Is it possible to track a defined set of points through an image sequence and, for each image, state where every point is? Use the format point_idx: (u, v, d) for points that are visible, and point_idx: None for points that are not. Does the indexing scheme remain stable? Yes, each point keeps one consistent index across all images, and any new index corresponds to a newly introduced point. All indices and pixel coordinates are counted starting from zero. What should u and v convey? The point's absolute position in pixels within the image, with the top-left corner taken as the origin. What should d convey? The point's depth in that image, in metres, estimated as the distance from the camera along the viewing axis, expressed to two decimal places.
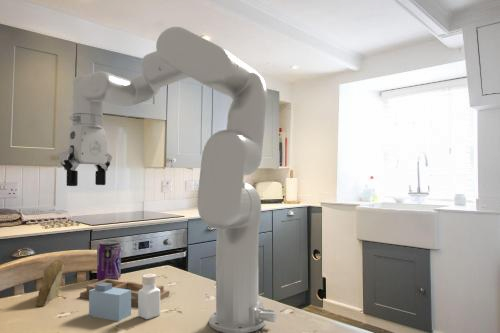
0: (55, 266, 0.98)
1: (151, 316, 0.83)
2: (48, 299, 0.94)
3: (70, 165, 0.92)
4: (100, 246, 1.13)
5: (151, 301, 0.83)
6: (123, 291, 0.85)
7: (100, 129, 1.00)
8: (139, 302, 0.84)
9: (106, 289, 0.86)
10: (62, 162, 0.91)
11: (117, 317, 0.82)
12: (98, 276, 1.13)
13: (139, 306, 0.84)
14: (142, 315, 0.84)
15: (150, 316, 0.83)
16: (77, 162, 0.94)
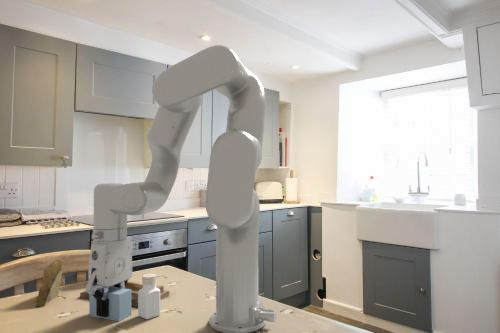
0: (55, 266, 0.98)
1: (151, 316, 0.83)
2: (48, 299, 0.94)
3: (100, 297, 0.82)
4: None
5: (151, 301, 0.83)
6: (124, 291, 0.85)
7: (125, 241, 0.87)
8: (139, 302, 0.84)
9: None
10: (93, 294, 0.81)
11: (118, 317, 0.82)
12: None
13: (139, 306, 0.84)
14: (142, 315, 0.84)
15: (150, 316, 0.83)
16: (105, 289, 0.83)
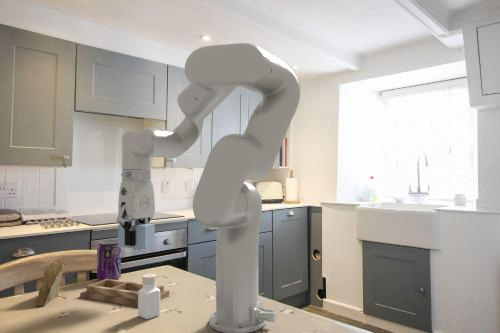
0: (55, 266, 0.98)
1: (151, 316, 0.83)
2: (48, 299, 0.94)
3: (128, 227, 0.94)
4: (100, 246, 1.13)
5: (151, 301, 0.83)
6: (148, 224, 0.97)
7: (148, 182, 1.00)
8: (139, 302, 0.84)
9: None
10: (122, 225, 0.94)
11: (144, 246, 0.95)
12: (98, 276, 1.13)
13: (139, 306, 0.84)
14: (142, 315, 0.84)
15: (150, 316, 0.83)
16: (133, 221, 0.95)
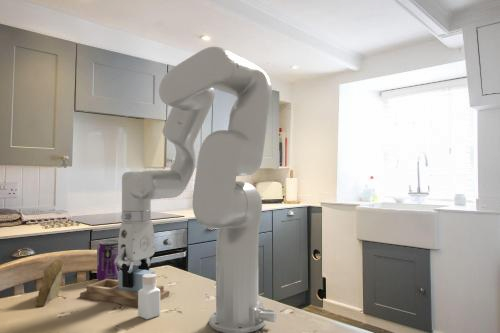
0: (55, 266, 0.98)
1: (151, 316, 0.83)
2: (48, 299, 0.94)
3: (126, 269, 0.93)
4: (100, 246, 1.13)
5: (151, 301, 0.83)
6: (148, 272, 0.97)
7: (148, 222, 0.99)
8: (139, 302, 0.84)
9: (133, 270, 0.97)
10: (120, 267, 0.93)
11: None
12: (98, 276, 1.13)
13: (139, 306, 0.84)
14: (142, 315, 0.84)
15: (150, 316, 0.83)
16: (131, 263, 0.94)
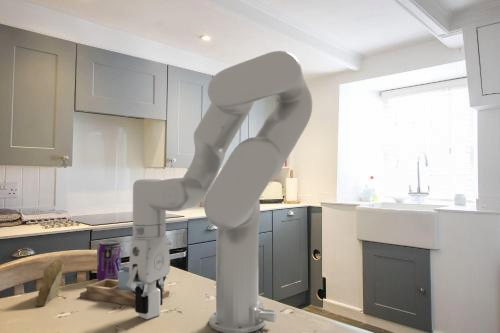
0: (55, 266, 0.98)
1: (151, 316, 0.83)
2: (48, 299, 0.94)
3: (140, 293, 0.81)
4: (100, 246, 1.13)
5: (151, 301, 0.84)
6: None
7: (163, 237, 0.87)
8: None
9: None
10: (133, 290, 0.81)
11: None
12: (98, 276, 1.13)
13: None
14: (142, 315, 0.84)
15: (150, 315, 0.83)
16: (145, 285, 0.82)
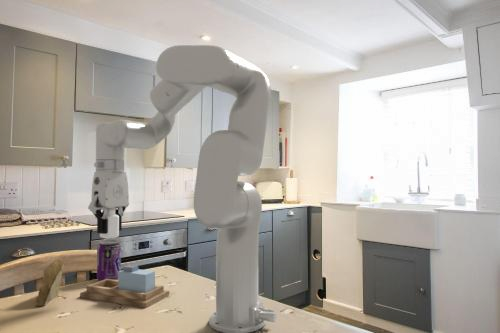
0: (55, 266, 0.98)
1: (110, 236, 1.00)
2: (48, 299, 0.94)
3: (100, 215, 0.97)
4: (100, 246, 1.13)
5: (110, 224, 1.00)
6: (148, 272, 0.97)
7: (122, 173, 1.03)
8: None
9: (133, 270, 0.97)
10: (94, 213, 0.97)
11: None
12: (98, 276, 1.13)
13: None
14: (103, 235, 1.00)
15: (109, 235, 0.99)
16: (105, 210, 0.98)
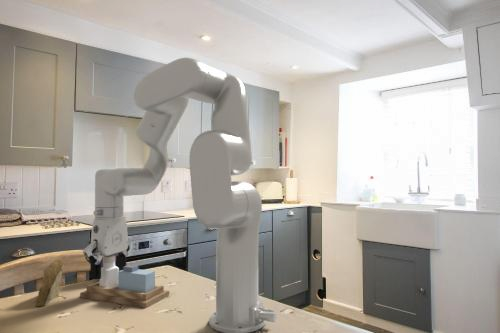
0: (55, 266, 0.98)
1: None
2: (48, 299, 0.94)
3: (94, 260, 0.96)
4: None
5: (110, 277, 0.99)
6: (148, 272, 0.97)
7: (121, 218, 1.03)
8: None
9: (133, 270, 0.97)
10: (87, 258, 0.95)
11: None
12: None
13: (100, 281, 1.00)
14: None
15: None
16: (100, 256, 0.97)
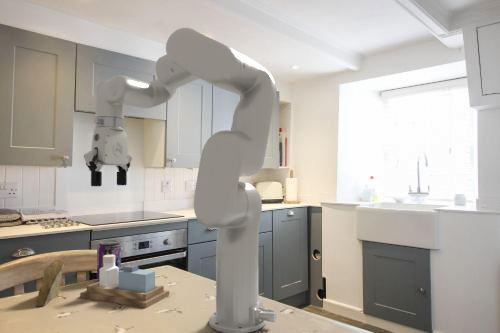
0: (55, 266, 0.98)
1: None
2: (48, 299, 0.94)
3: (95, 166, 0.96)
4: (100, 246, 1.13)
5: (110, 277, 0.99)
6: (148, 272, 0.97)
7: (122, 131, 1.03)
8: (100, 278, 1.00)
9: (133, 270, 0.97)
10: (87, 163, 0.95)
11: None
12: (98, 276, 1.13)
13: (100, 281, 1.00)
14: None
15: None
16: (101, 163, 0.98)
